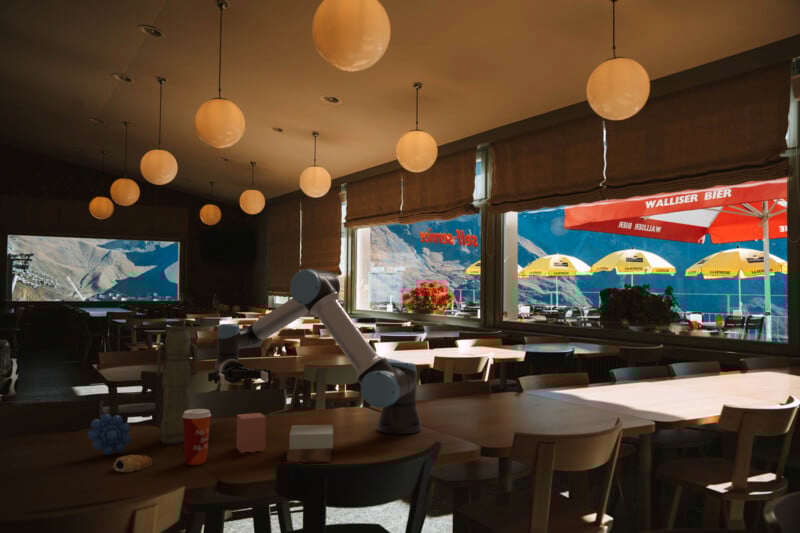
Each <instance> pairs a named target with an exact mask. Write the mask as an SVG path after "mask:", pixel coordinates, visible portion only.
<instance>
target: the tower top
mask: <svg viewBox="0 0 800 533" xmlns="http://www.w3.org/2000/svg"><path fill="white" fill-rule="evenodd" d="M289 442H290V444H289V443H288V445H289V449H320V448H331V449H334V426H333V424H310V425H309V424H303V425H302V424H301V425H294V424H293V425H291V428H290V431H289Z"/></svg>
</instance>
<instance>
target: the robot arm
mask: <svg viewBox="0 0 800 533" xmlns="http://www.w3.org/2000/svg"><path fill="white" fill-rule="evenodd" d="M289 292H290V295H291V298H290V299H289V300H287V301H286V302H283V304H282V303H281V305H279V306H278V307H277V308H275V309H273V310H271V311H269V312H268V313H267V314H265V315H263V316H262V317H261V318H259V319H257V320H256V321H253V323H252V324H250V325H248V326H246V327H241V328H240V325H239V324H238V323H221V324H219V325H218V328H217V334H216V338H217V340H216V341H217V347H216V348H217V349H216V350H217V352H216V360H215V363H214V364H215V365H214V369H215V370H213V371H211V372H208V374H207V381H208V382H212V381H213V383H214V384H216V385H217V384H218V383H219V384H221V385H225V381H226V382H229V383H230V384H237V383H240V382H241V381H242V380H244V379H245V380H247V379H250V378H252V379H260V380H261V381H263V382H265V383H268V382H269V379H271V378H272V370H270V369H269V370H267V368H262V369H260V368H255V367H252V369H250V367H248V368H247V367H246V366H245V365H244V364H243V363H242V362H240V361H239V353H240V352H239V351H240V350H239V349H248V348H256V347H259V346H261V345H262V344H263V342H264V341H265V340H266V339H267V338H269V337H270V336H273V335H274V334H275V333H277V332H279V331H280V330H282V329H283V328H285V327H287V326H289V325H290V324H291V323H293V322H295V321H296V320H298V319H300V318H301V317H303V316H305V315H306V314H308V313H309V314H310V315H311V316H317V318H319V320H320V322H321V323H322V325H323V326H324V327H325V329H326V330H327V331H328V333H329V334H330V336H331V337H332V338H333V340H334V341H335V343H336V344H337V345H338V346H339V348H340V350H341V351H342V352H343V354H344V355H345V356H346V358H347V360H348V361H349V362H350V364H351V365H352V367H353V368H354V369H355V371H356V373H357V374H356V380H357V381H358V383H359V385H360V393H361V396H362V398H363V399H364V400H365V402H367V404H369V405H370V406H371V407H374V408H382V409H381V412H380V415H379V417H378V421H377V431H378V432H380V433H384V434H390V435H391V434H392V435H408V434H409V435H411V434H417V433H419V432H421V431H422V421H421V418H420V414H419V411H418V408H417V389H418V388H417V380H418V379H417V376H418V372H417V366H416V364H415V363H413V362H412V363H411V362H409V363H408V362H394V361H388V360H387V358H386V357H382V356H379V355H378V354H377V352H376V350H374V347H372V345H371V344H370V342H369V341H368V340H367V338H366V337H365V335H364V334H363V333H362V332H361V330H360V329H359V328H358V326H357V325H356V323H355V322H354V321H353V319H352V318H351V317H350V315H349V314H348V313H347V311H346V310H345V308H344V307H343V306H342V304H341V303H340V301H339V296H340V295H339V294H340V292H341V282H340V280H339V277H337V275H336V274H335V273H334V272H332V271H330V270H325V269H324V270H322V269H321V270H320V269H313V268H306V269H305V268H304V269H301V270H299V271H298V272H297V273H295V274H294V276H292V278H291V281H290V286H289Z"/></svg>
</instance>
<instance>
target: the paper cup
mask: <svg viewBox="0 0 800 533" xmlns="http://www.w3.org/2000/svg"><path fill="white" fill-rule="evenodd" d="M211 416H212V413H211V411H210V409H206V408H196V409H195V408H193V409H190V410H187V411H184V414H183V416H182V417H183V422H184V443H183V445H184V446H183V447H184V462H185V465H189V466H196V465H197V466H198V465H202V464H206V463H205V462H207V458H208V448H209V434H210V422H211Z"/></svg>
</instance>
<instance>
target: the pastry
mask: <svg viewBox="0 0 800 533" xmlns="http://www.w3.org/2000/svg"><path fill="white" fill-rule="evenodd" d="M152 465H153V460H152V458H151V457H150V456H147V455H140V454H129V455H123V456H120V457H116V460H115V462H114V463H113V467H112V468H113V469H114V471H115V472H119V473H120V472H121V473H132V472H134V471H141V470H144V469H147V468H149V467H150V466H152Z"/></svg>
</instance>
